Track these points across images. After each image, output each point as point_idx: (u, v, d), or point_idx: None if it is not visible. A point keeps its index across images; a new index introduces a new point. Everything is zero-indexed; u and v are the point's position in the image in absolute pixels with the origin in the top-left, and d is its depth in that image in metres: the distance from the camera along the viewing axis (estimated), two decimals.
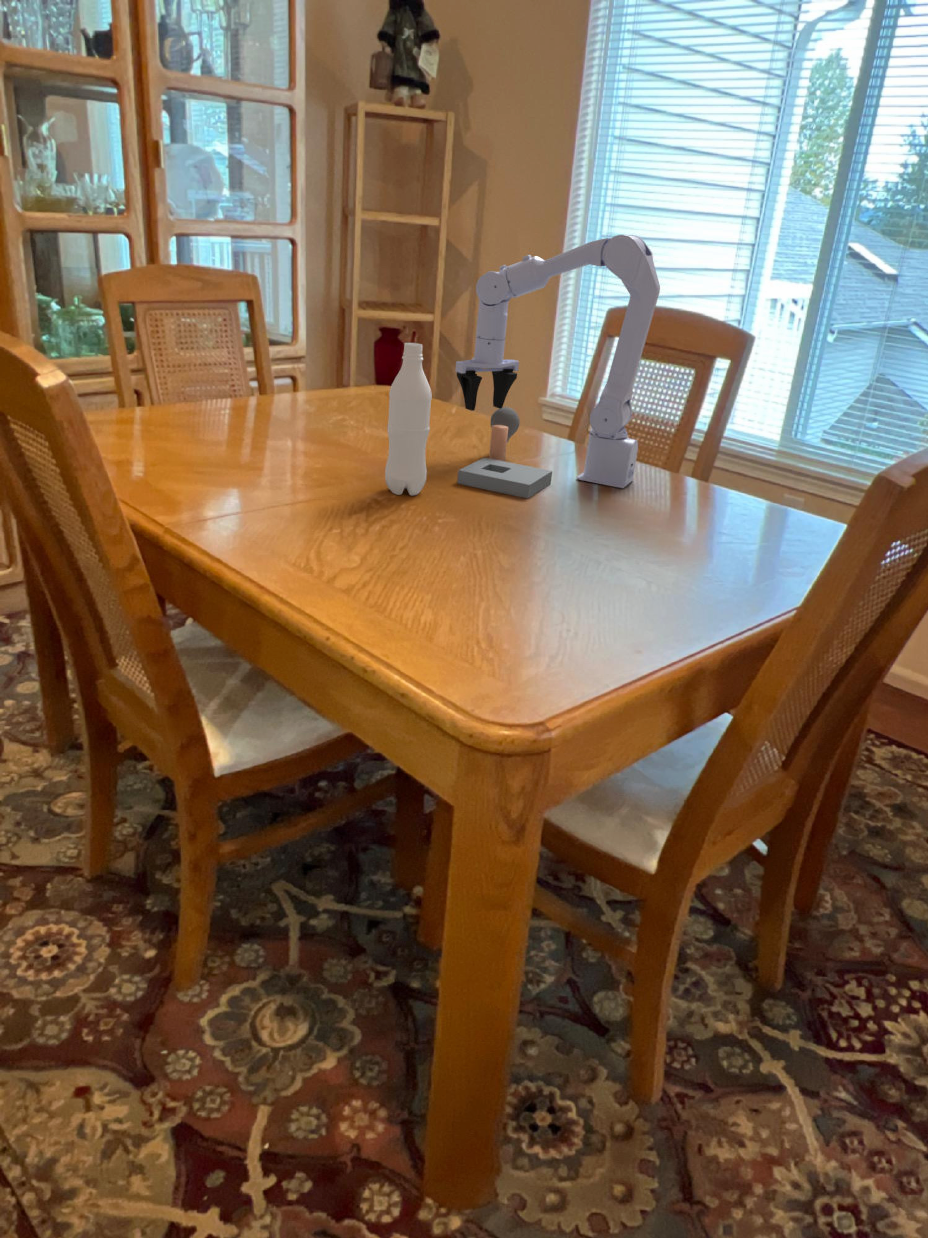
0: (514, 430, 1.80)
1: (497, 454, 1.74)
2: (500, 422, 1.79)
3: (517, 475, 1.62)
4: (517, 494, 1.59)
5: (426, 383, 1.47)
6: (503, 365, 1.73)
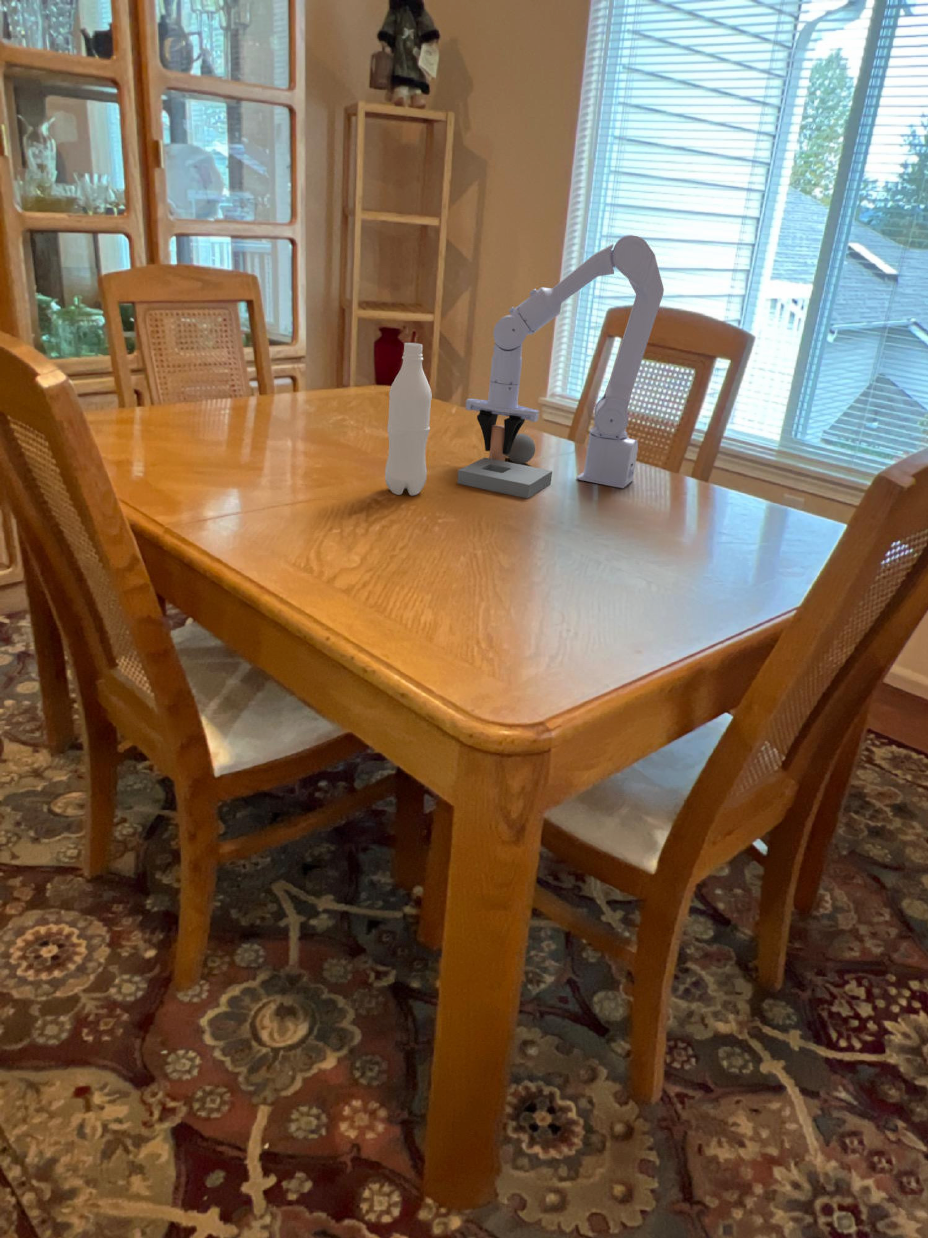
0: None
1: (497, 454, 1.74)
2: (514, 457, 1.77)
3: (517, 475, 1.62)
4: (517, 494, 1.59)
5: (426, 383, 1.47)
6: (505, 410, 1.68)
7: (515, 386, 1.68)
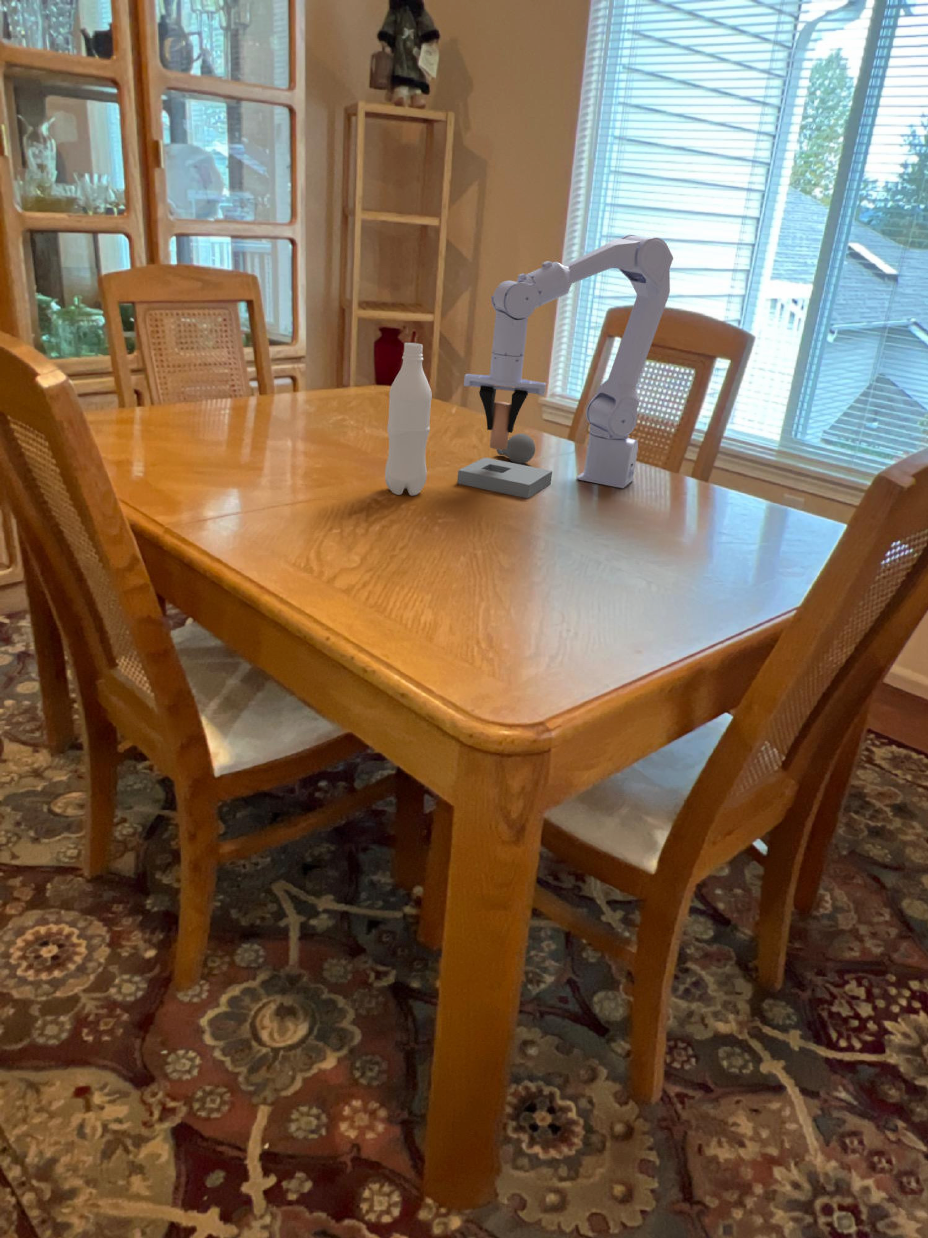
0: None
1: (502, 433, 1.61)
2: (514, 457, 1.77)
3: (517, 475, 1.62)
4: (517, 494, 1.59)
5: (426, 383, 1.47)
6: (512, 384, 1.56)
7: (522, 358, 1.56)
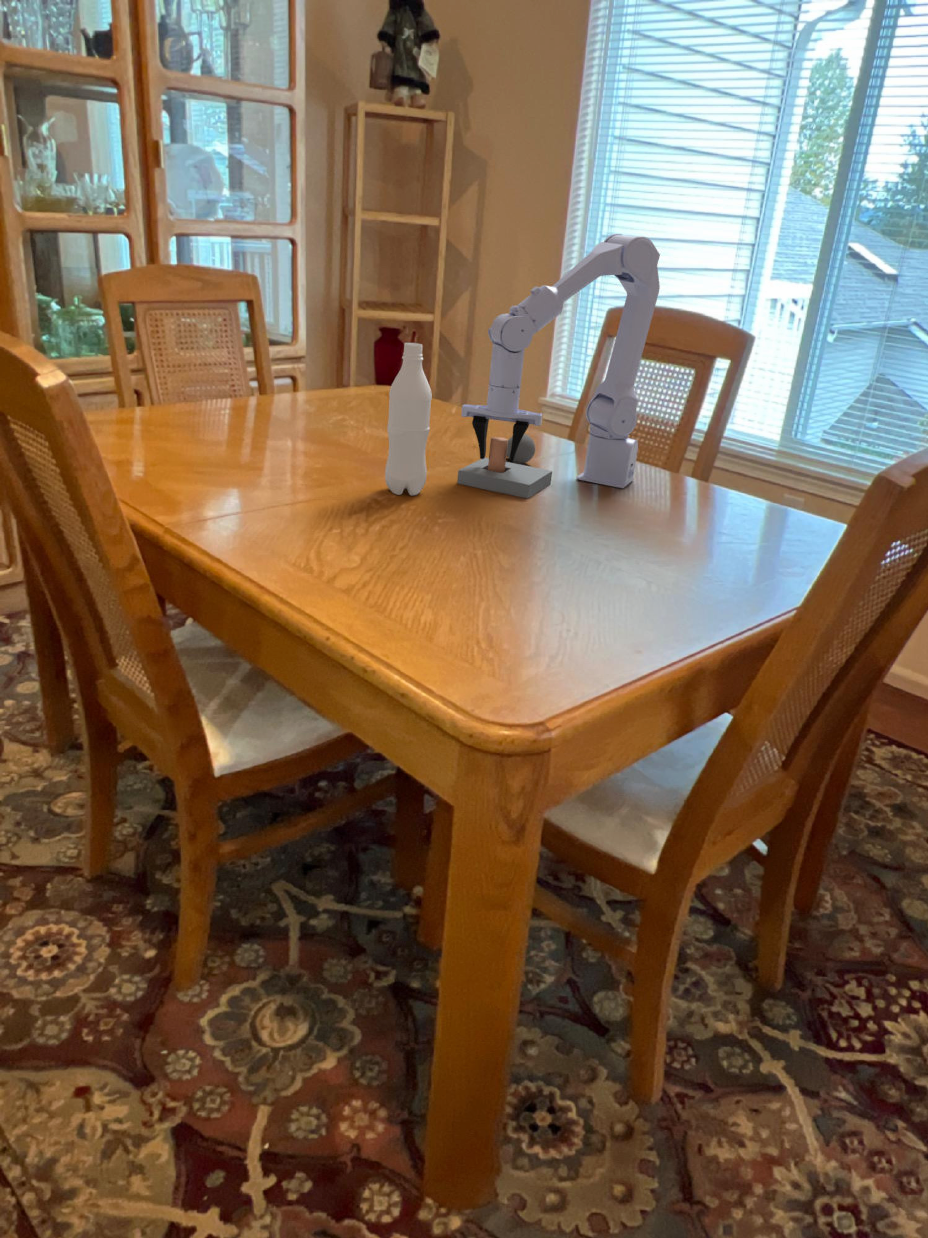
0: None
1: (499, 468, 1.64)
2: None
3: (517, 475, 1.62)
4: (517, 494, 1.59)
5: (426, 383, 1.47)
6: (509, 415, 1.58)
7: (518, 389, 1.58)
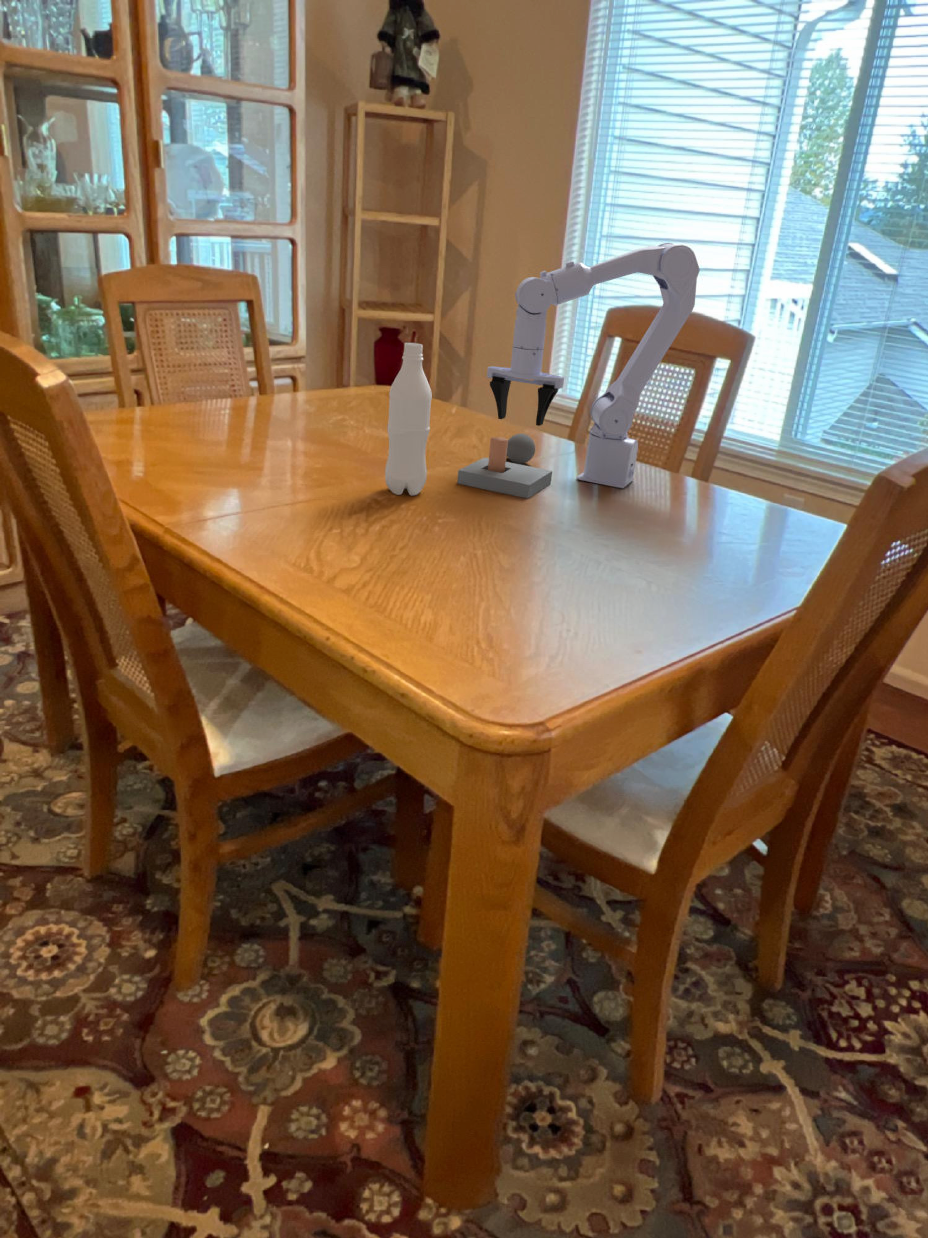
0: None
1: (499, 468, 1.64)
2: (514, 457, 1.77)
3: (517, 475, 1.62)
4: (517, 494, 1.59)
5: (426, 383, 1.47)
6: (529, 377, 1.62)
7: (539, 351, 1.61)
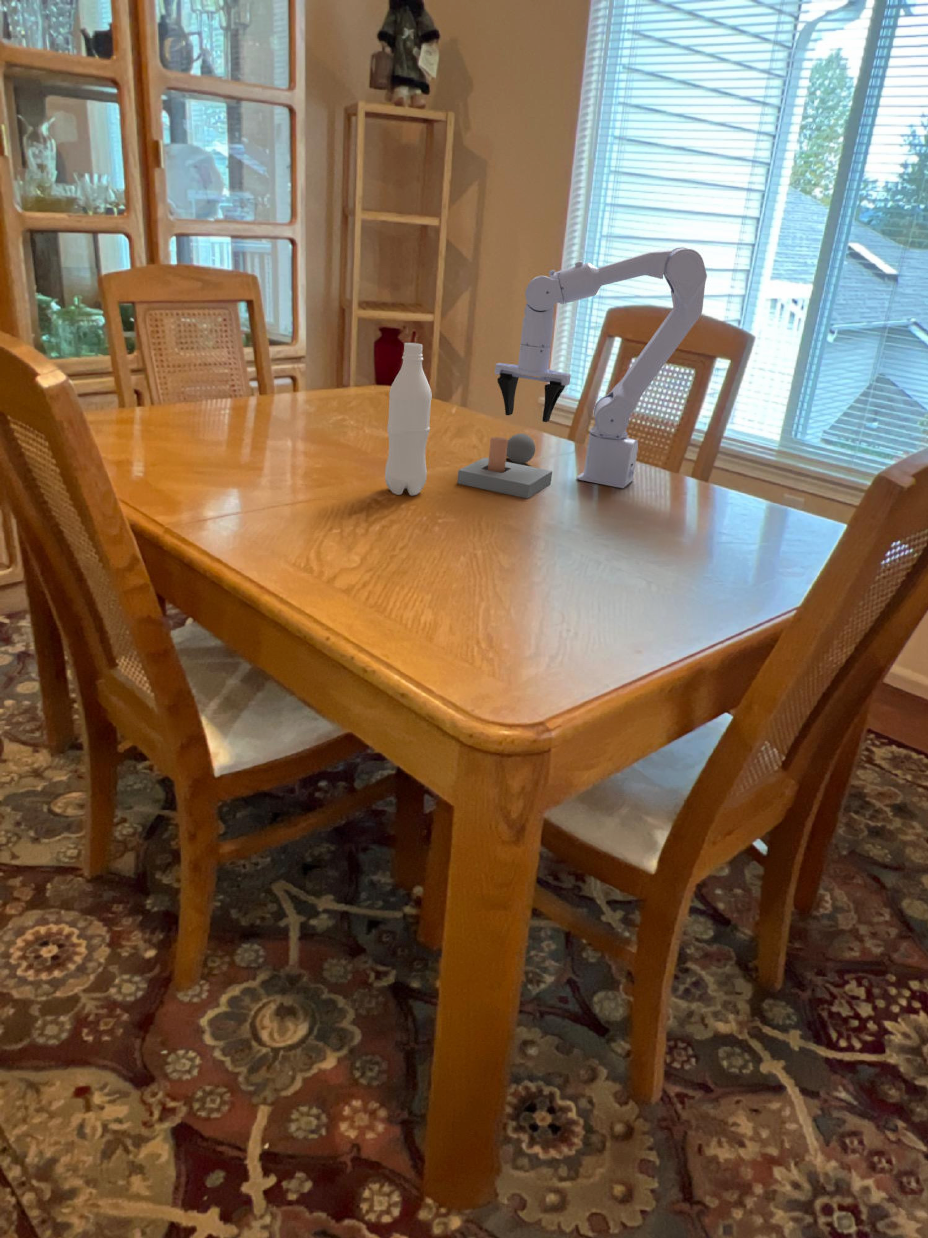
0: None
1: (499, 468, 1.64)
2: (514, 457, 1.77)
3: (517, 475, 1.62)
4: (517, 494, 1.59)
5: (426, 383, 1.47)
6: (536, 374, 1.64)
7: (546, 349, 1.64)
